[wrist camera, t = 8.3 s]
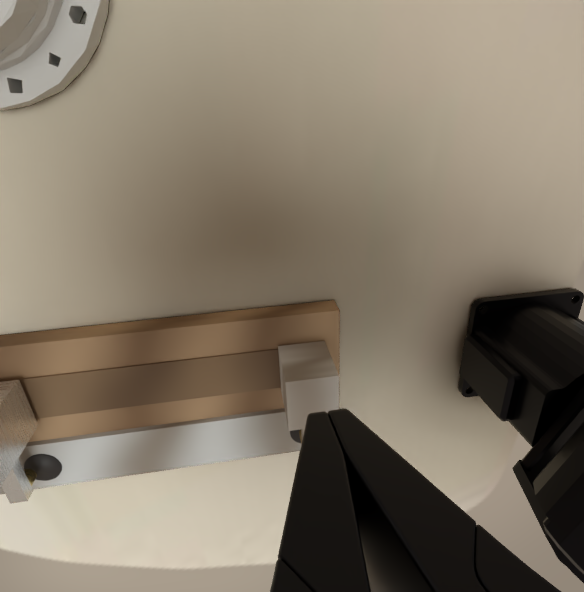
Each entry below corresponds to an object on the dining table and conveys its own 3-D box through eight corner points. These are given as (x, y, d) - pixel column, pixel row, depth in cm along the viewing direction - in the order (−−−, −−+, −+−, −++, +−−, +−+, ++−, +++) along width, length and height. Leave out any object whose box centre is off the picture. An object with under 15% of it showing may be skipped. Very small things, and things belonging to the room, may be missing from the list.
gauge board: (333, 299, 21) (357, 342, 17) (334, 430, 25) (353, 489, 21) (-81, 343, 19) (-161, 403, 15) (-10, 478, 23) (-60, 554, 19)
